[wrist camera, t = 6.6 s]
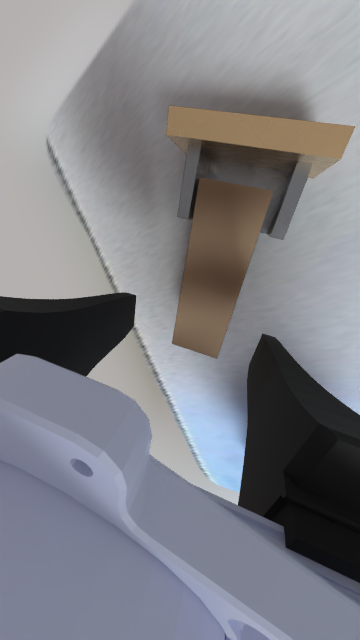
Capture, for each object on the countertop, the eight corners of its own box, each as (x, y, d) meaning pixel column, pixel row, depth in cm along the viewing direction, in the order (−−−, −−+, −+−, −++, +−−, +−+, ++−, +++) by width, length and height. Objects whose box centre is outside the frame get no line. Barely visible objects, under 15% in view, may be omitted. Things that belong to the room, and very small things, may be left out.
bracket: (288, 237, 17) (302, 245, 12) (181, 214, 18) (157, 213, 14) (321, 157, 14) (355, 126, 10) (194, 139, 16) (169, 105, 11)
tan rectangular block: (225, 327, 22) (217, 358, 17) (188, 316, 22) (171, 343, 18) (270, 191, 15) (273, 190, 11) (215, 181, 16) (199, 177, 12)
